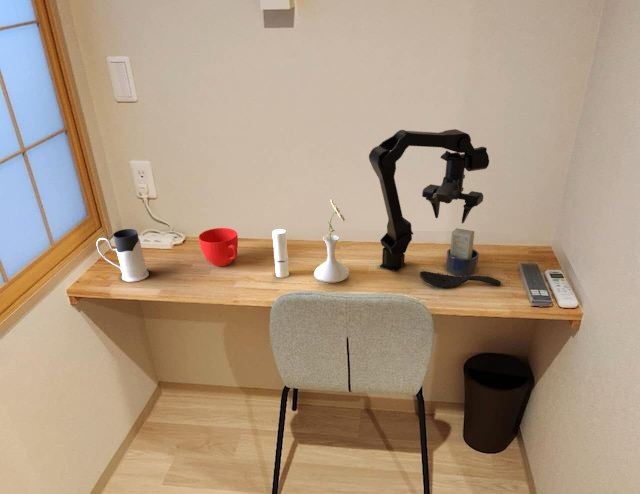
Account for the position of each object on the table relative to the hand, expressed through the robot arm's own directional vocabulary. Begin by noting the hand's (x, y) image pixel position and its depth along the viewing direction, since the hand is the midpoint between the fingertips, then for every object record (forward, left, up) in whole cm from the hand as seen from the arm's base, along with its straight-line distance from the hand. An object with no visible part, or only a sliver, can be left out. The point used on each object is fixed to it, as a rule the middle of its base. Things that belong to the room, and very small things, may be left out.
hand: (449, 220), depth 181 cm
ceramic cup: (-62, -44, -13) cm, 77 cm away
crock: (+8, -6, -13) cm, 16 cm away
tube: (-40, -40, -13) cm, 58 cm away
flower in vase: (-25, -33, -13) cm, 43 cm away
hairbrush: (+12, -16, -13) cm, 24 cm away
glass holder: (-84, -68, -13) cm, 109 cm away
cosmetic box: (+7, -6, -13) cm, 16 cm away
